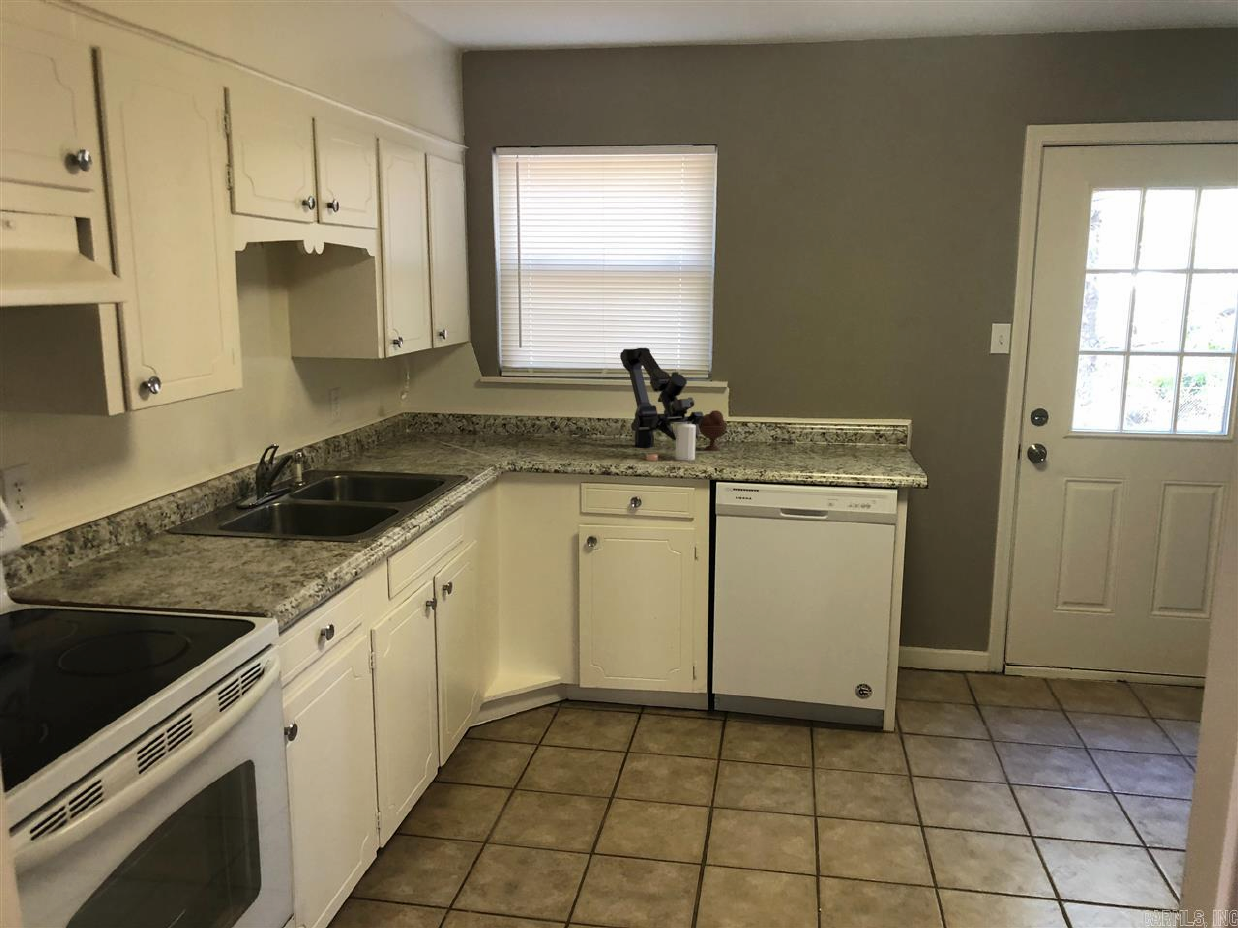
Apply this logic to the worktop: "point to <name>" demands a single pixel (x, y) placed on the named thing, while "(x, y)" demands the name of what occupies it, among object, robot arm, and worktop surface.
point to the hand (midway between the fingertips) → (686, 439)
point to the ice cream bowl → (713, 428)
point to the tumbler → (685, 441)
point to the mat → (680, 460)
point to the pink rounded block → (652, 457)
